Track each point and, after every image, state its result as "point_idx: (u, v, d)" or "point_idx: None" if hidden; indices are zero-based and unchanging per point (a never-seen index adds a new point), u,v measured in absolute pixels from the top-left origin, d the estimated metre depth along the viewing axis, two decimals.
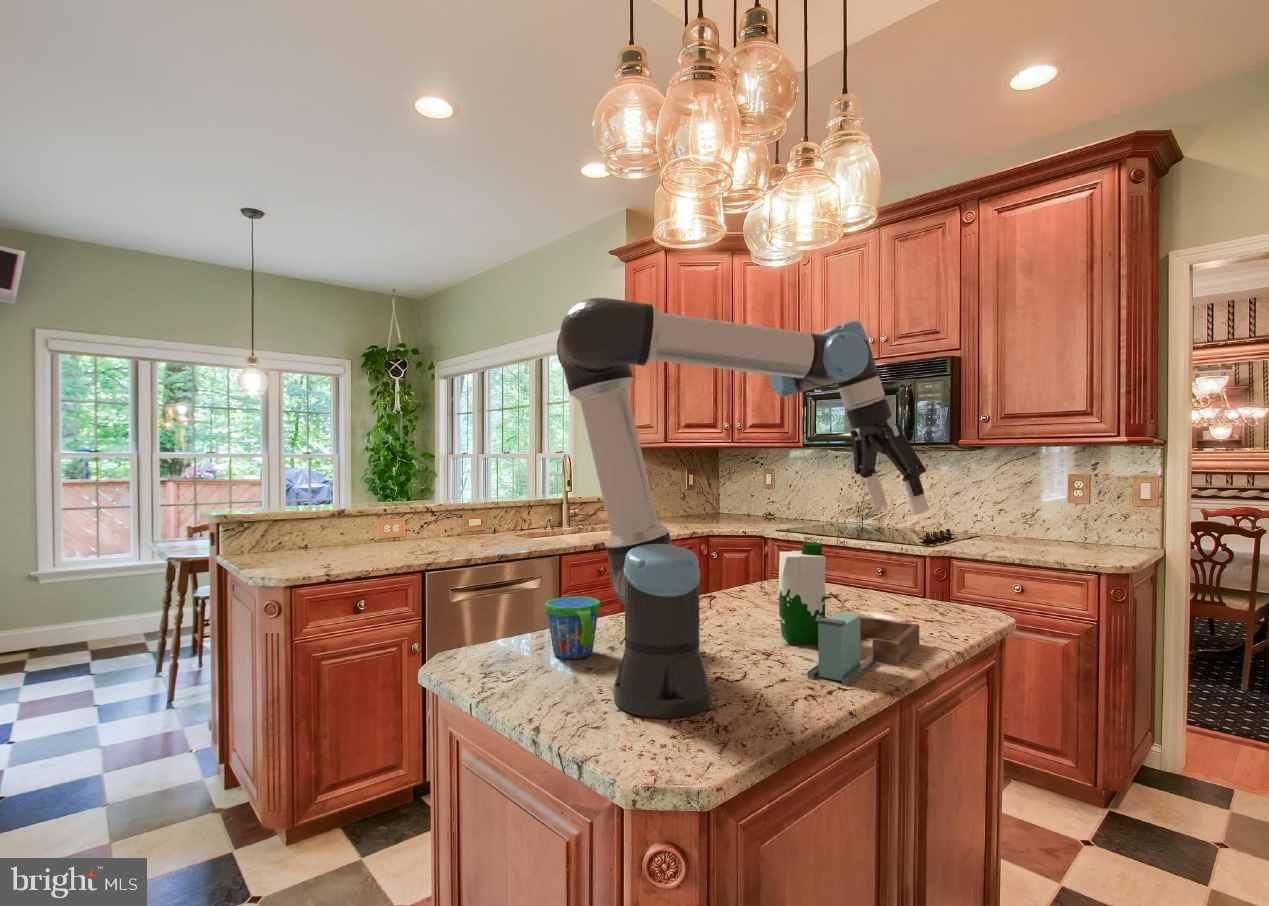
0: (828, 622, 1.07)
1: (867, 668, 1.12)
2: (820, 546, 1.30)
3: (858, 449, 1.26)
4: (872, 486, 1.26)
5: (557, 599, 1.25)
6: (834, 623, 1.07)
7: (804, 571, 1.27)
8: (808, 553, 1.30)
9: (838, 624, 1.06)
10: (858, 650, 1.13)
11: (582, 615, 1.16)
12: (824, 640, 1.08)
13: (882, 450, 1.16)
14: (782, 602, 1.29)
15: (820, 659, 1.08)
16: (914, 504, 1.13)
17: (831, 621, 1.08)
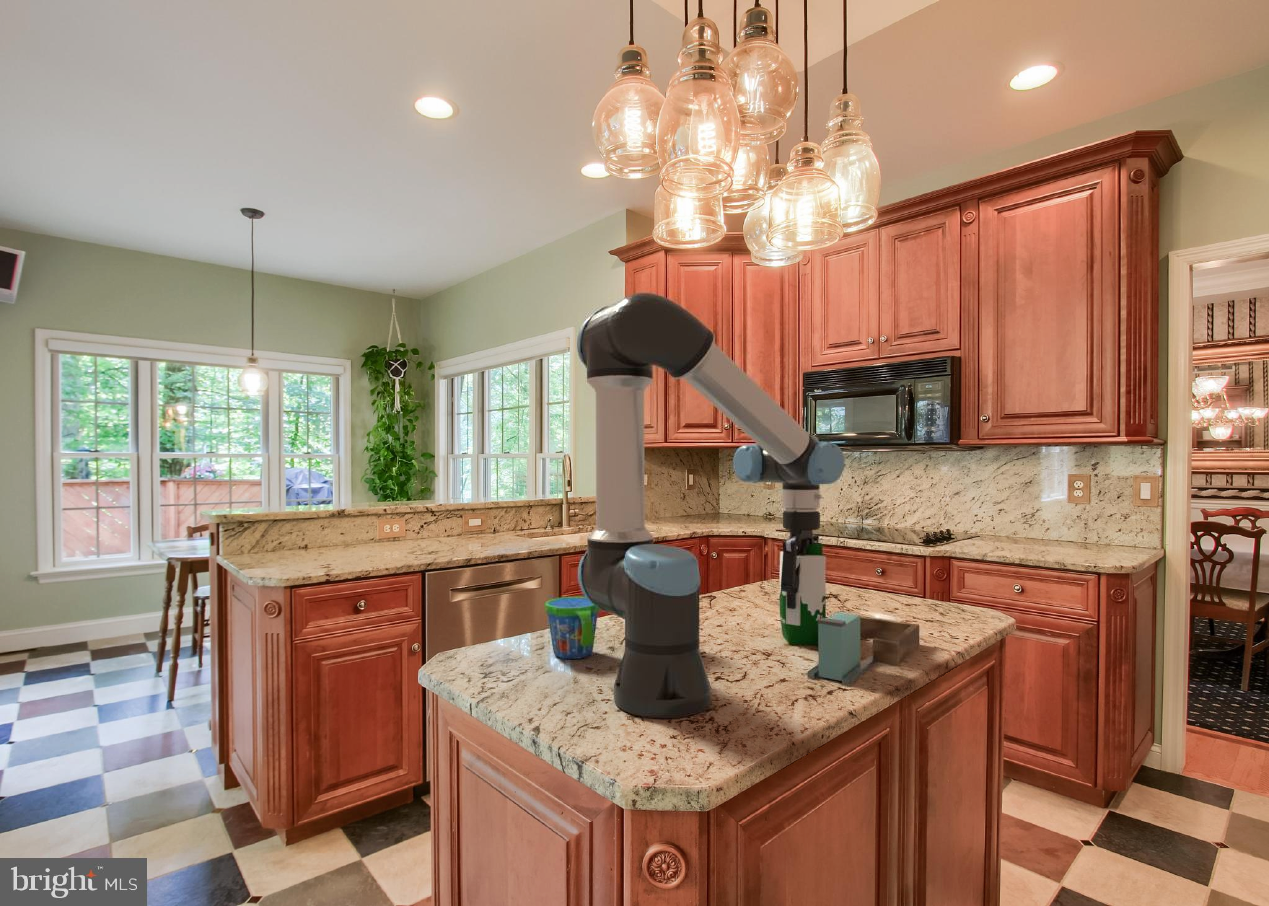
0: (828, 622, 1.07)
1: (867, 668, 1.12)
2: (820, 546, 1.30)
3: None
4: None
5: (557, 599, 1.25)
6: (834, 623, 1.07)
7: (804, 571, 1.27)
8: (808, 553, 1.30)
9: (838, 624, 1.06)
10: (858, 650, 1.13)
11: (582, 615, 1.16)
12: (824, 640, 1.08)
13: None
14: (783, 602, 1.30)
15: (820, 659, 1.08)
16: (787, 614, 1.28)
17: (831, 621, 1.08)
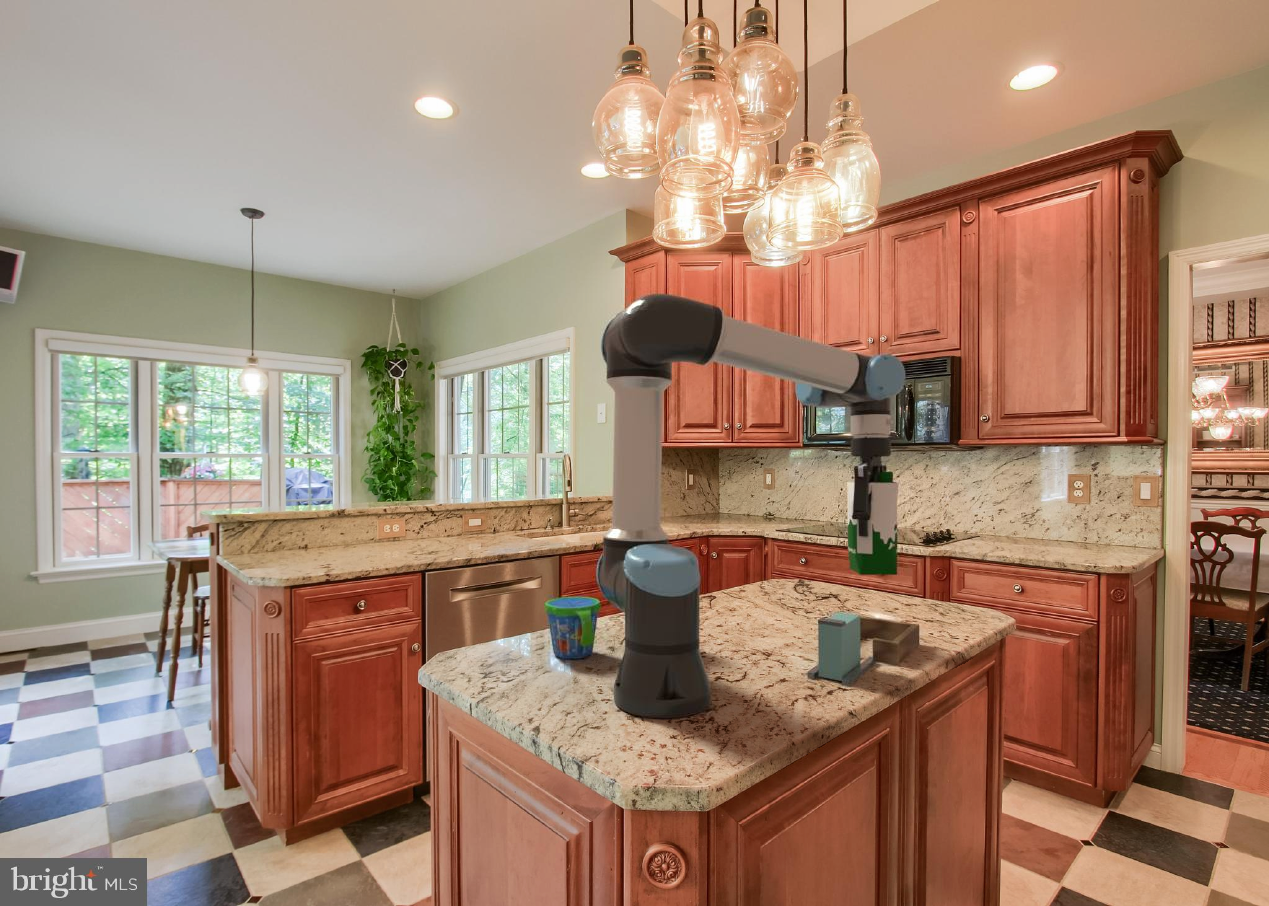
0: (828, 622, 1.07)
1: (867, 668, 1.12)
2: (891, 474, 1.26)
3: None
4: None
5: (557, 599, 1.25)
6: (834, 623, 1.07)
7: (877, 498, 1.23)
8: (879, 481, 1.25)
9: (838, 624, 1.06)
10: (858, 650, 1.13)
11: (582, 615, 1.16)
12: (824, 640, 1.08)
13: None
14: (853, 532, 1.25)
15: (820, 659, 1.08)
16: (858, 543, 1.23)
17: (831, 621, 1.08)
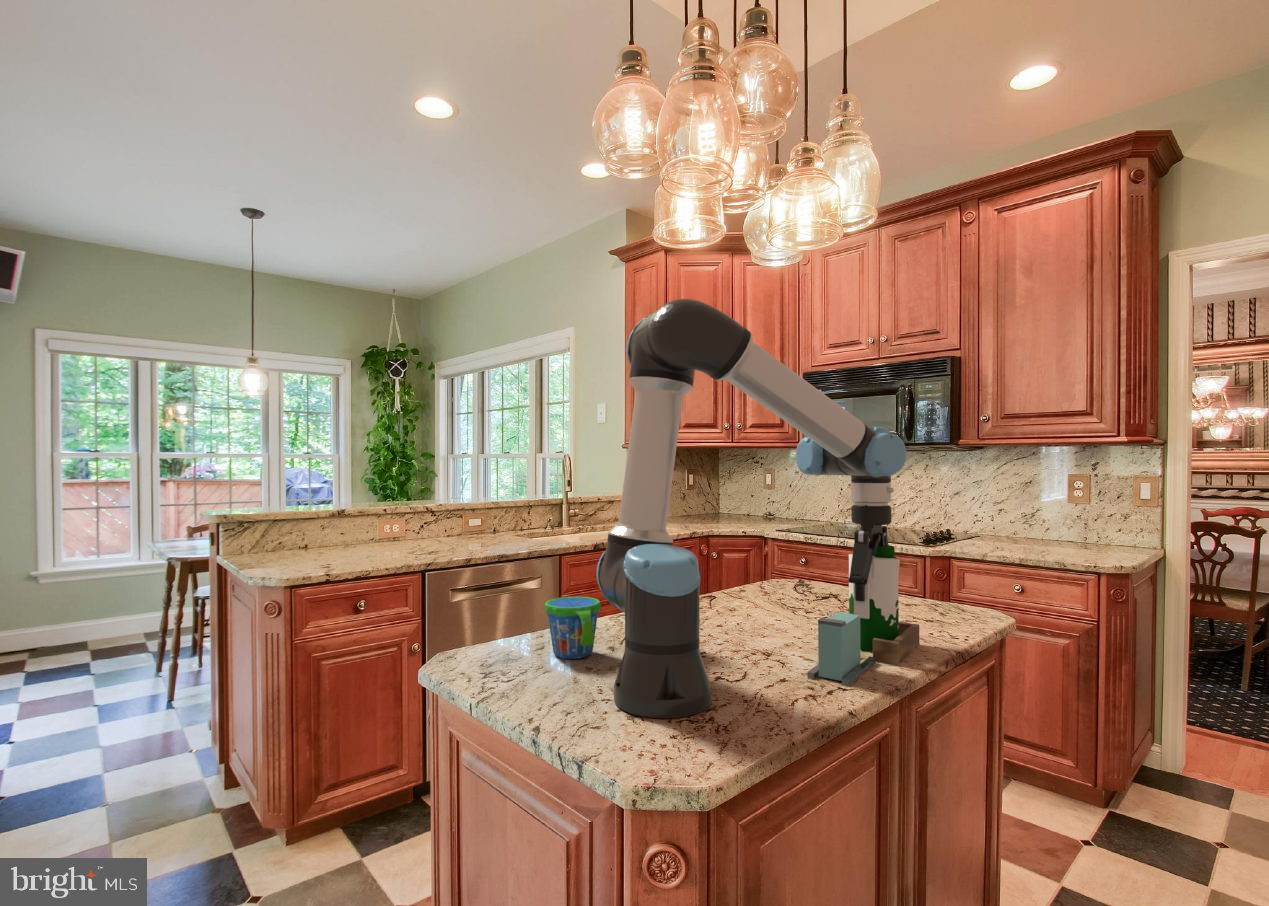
0: (828, 622, 1.07)
1: (867, 668, 1.12)
2: (893, 549, 1.26)
3: None
4: None
5: (557, 599, 1.25)
6: (834, 623, 1.07)
7: (878, 574, 1.23)
8: (881, 556, 1.25)
9: (838, 624, 1.06)
10: (858, 650, 1.13)
11: (582, 615, 1.16)
12: (824, 640, 1.08)
13: None
14: None
15: (820, 659, 1.08)
16: (855, 607, 1.22)
17: (831, 621, 1.08)
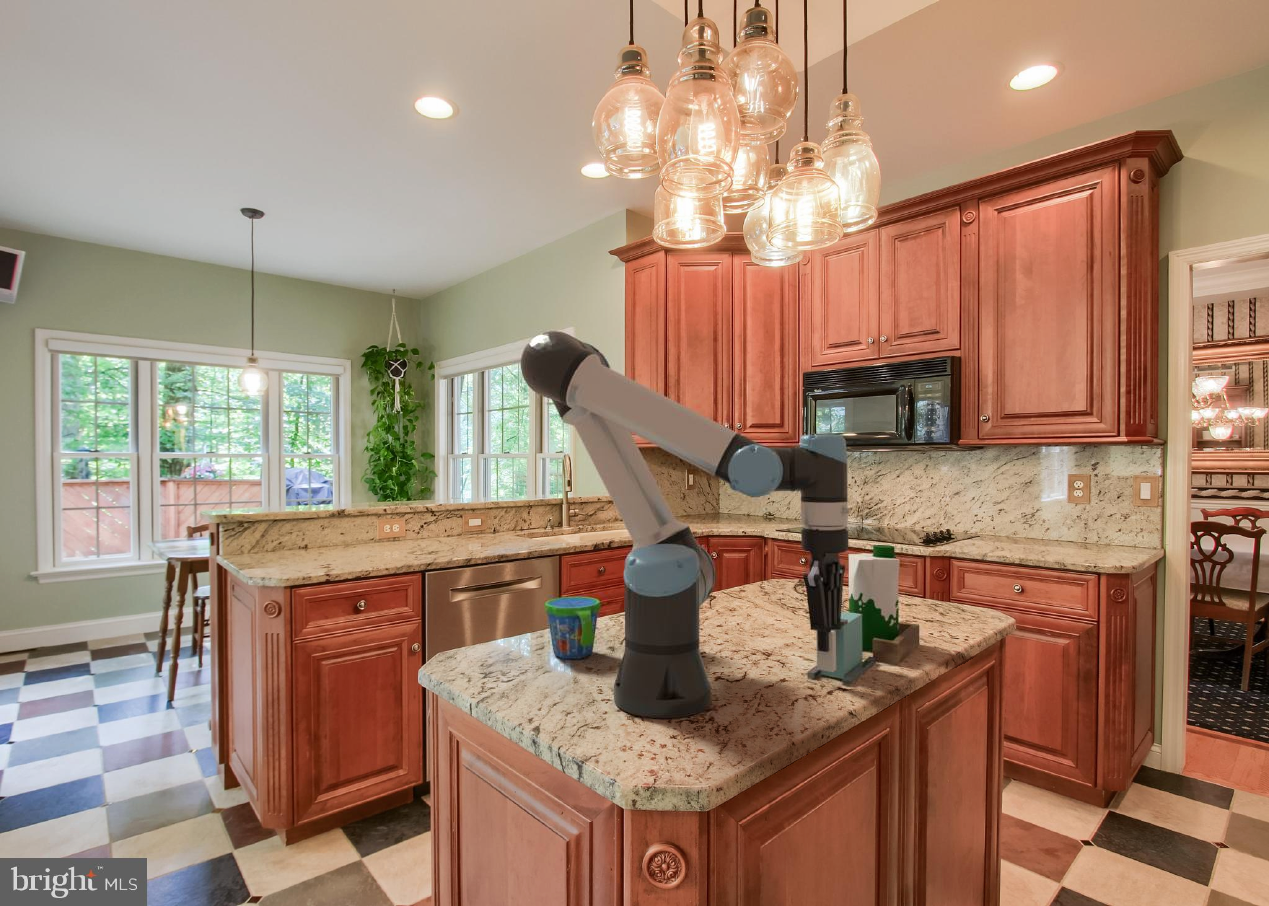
0: None
1: (867, 668, 1.12)
2: (893, 549, 1.26)
3: None
4: None
5: (557, 599, 1.25)
6: None
7: (878, 574, 1.23)
8: (880, 556, 1.25)
9: (840, 623, 1.07)
10: (860, 649, 1.14)
11: (582, 615, 1.16)
12: None
13: None
14: (854, 606, 1.25)
15: None
16: (818, 657, 1.05)
17: None
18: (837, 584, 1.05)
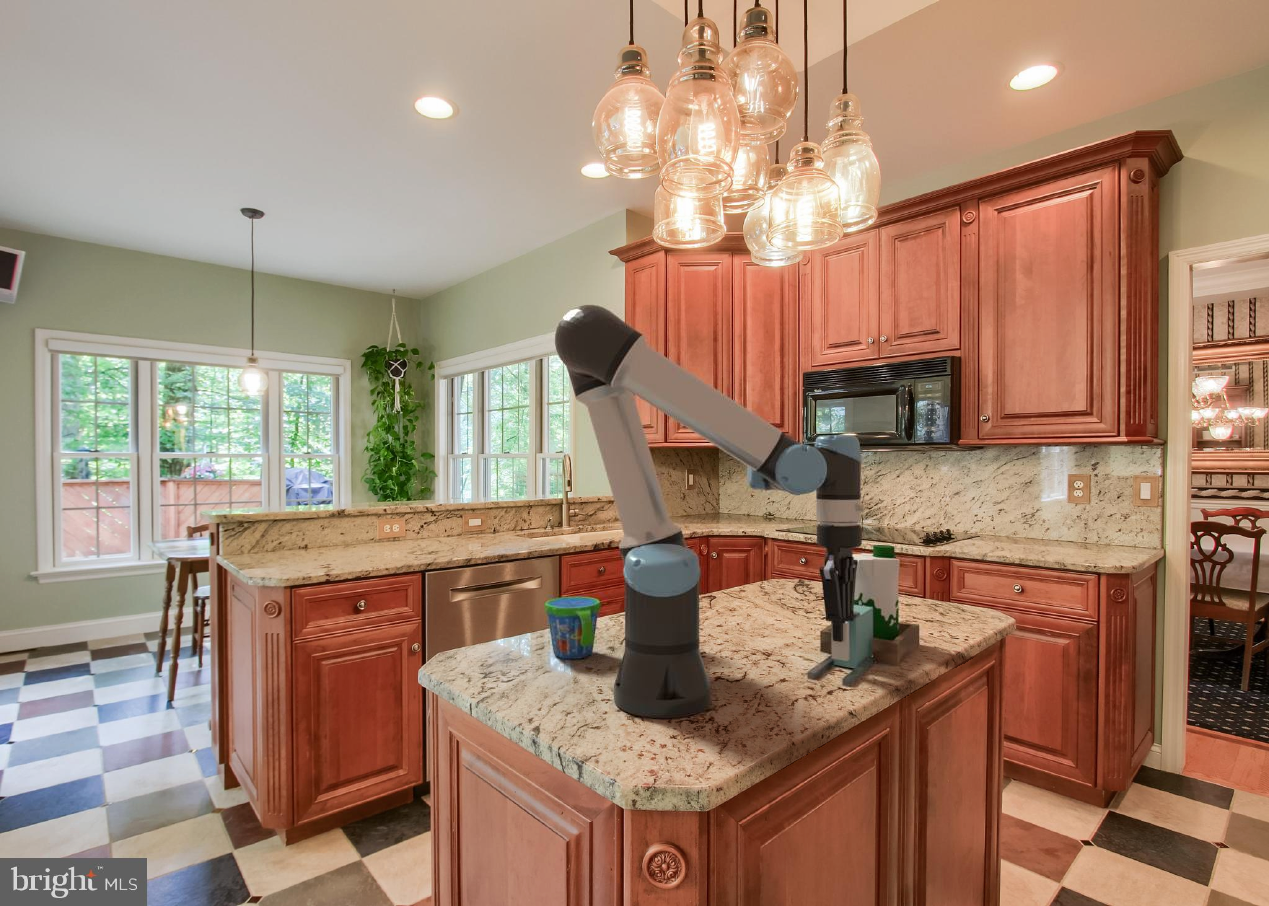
0: None
1: (867, 668, 1.12)
2: (893, 549, 1.26)
3: None
4: None
5: (557, 599, 1.25)
6: None
7: (878, 574, 1.23)
8: (881, 556, 1.25)
9: (853, 615, 1.13)
10: (871, 640, 1.19)
11: (582, 615, 1.16)
12: None
13: None
14: None
15: None
16: (833, 647, 1.11)
17: None
18: (850, 577, 1.10)
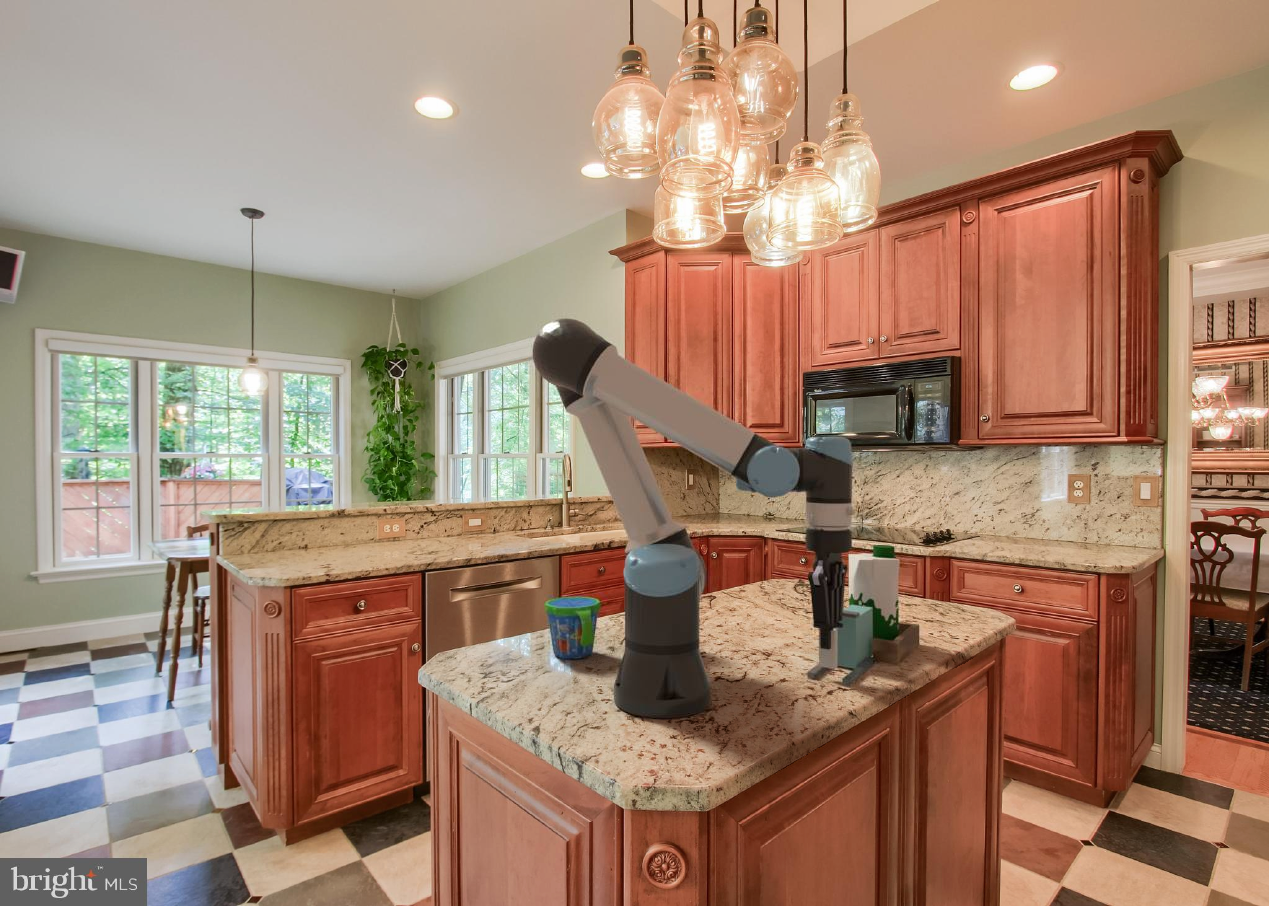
0: (843, 613, 1.13)
1: (867, 668, 1.12)
2: (893, 549, 1.26)
3: None
4: None
5: (557, 599, 1.25)
6: (849, 614, 1.13)
7: (878, 574, 1.23)
8: (880, 556, 1.25)
9: (852, 615, 1.12)
10: (871, 640, 1.19)
11: (582, 615, 1.16)
12: (839, 630, 1.14)
13: None
14: None
15: None
16: (820, 654, 1.08)
17: (846, 612, 1.14)
18: (839, 583, 1.07)
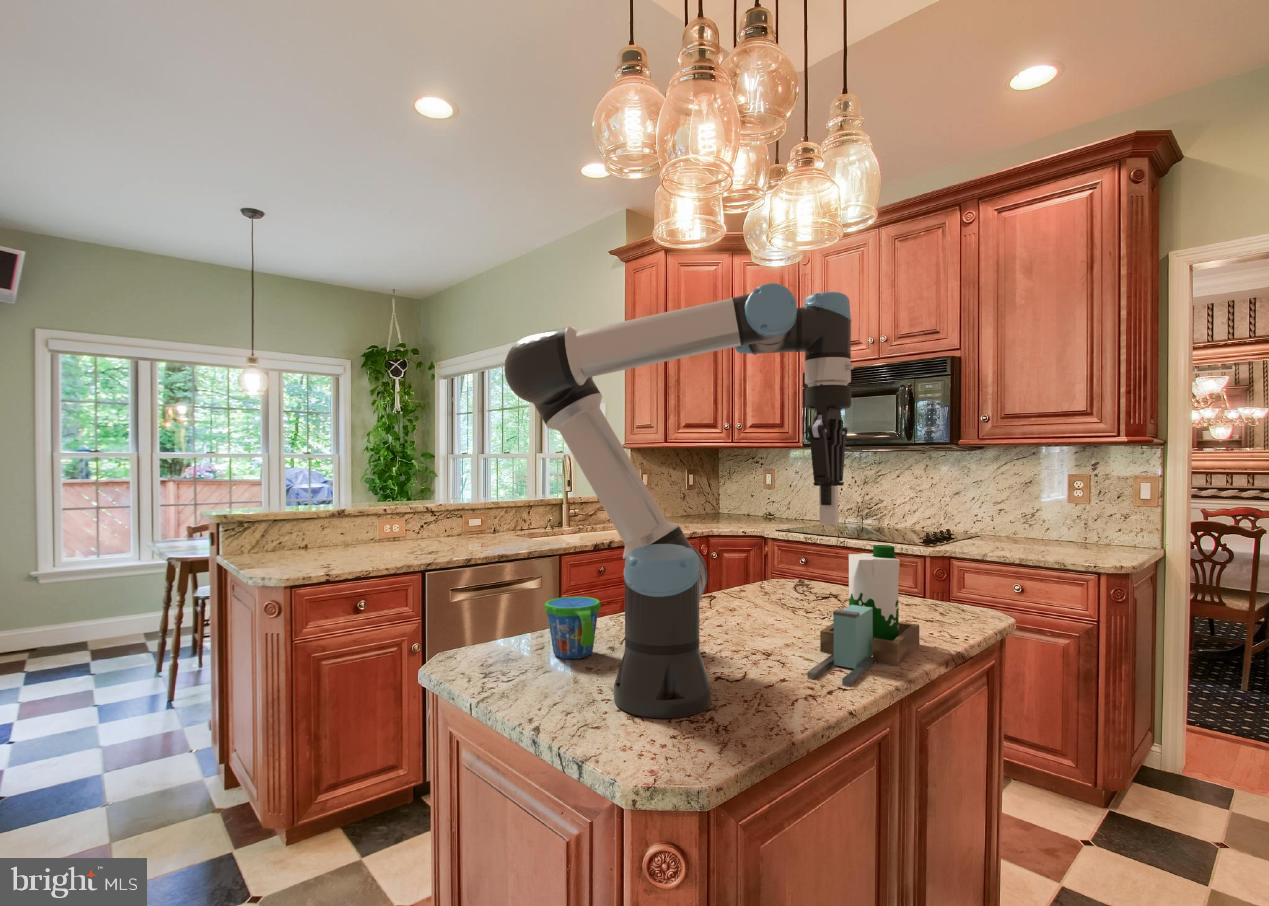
0: (843, 613, 1.13)
1: (867, 668, 1.12)
2: (893, 549, 1.26)
3: None
4: None
5: (557, 599, 1.25)
6: (849, 614, 1.13)
7: (878, 574, 1.23)
8: (881, 556, 1.25)
9: (852, 615, 1.12)
10: (871, 640, 1.19)
11: (582, 615, 1.16)
12: (839, 630, 1.14)
13: None
14: None
15: (835, 648, 1.14)
16: (821, 513, 1.08)
17: (846, 612, 1.14)
18: (839, 441, 1.07)
